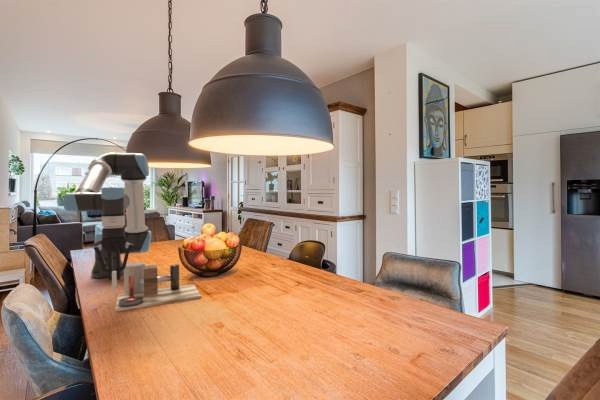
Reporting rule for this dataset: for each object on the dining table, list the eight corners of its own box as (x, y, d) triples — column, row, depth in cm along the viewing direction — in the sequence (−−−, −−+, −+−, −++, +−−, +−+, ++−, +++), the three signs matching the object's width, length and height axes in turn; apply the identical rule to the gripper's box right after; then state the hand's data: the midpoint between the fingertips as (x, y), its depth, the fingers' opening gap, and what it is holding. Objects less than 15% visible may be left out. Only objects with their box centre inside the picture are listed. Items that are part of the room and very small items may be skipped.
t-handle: (140, 292, 128) (139, 268, 128) (179, 286, 135) (178, 264, 135) (140, 294, 125) (139, 270, 124) (179, 289, 132) (179, 265, 132)
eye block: (118, 296, 126) (117, 268, 126) (194, 286, 140) (193, 260, 140) (115, 311, 110) (114, 278, 110) (200, 298, 124) (200, 268, 124)
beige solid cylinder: (120, 292, 132) (119, 265, 131) (137, 287, 139) (137, 261, 139) (132, 295, 128) (131, 267, 128) (149, 290, 135) (149, 263, 135)
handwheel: (119, 299, 119) (119, 276, 119) (142, 296, 123) (142, 273, 122) (118, 308, 110) (117, 282, 110) (143, 304, 114) (142, 279, 114)
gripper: (91, 229, 110) (92, 293, 110) (132, 227, 116) (133, 288, 116) (94, 227, 116) (95, 288, 117) (133, 225, 123) (134, 283, 123)
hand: (114, 288), depth 116 cm, fingers closed
